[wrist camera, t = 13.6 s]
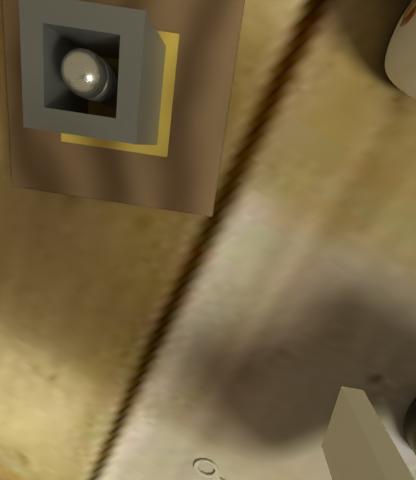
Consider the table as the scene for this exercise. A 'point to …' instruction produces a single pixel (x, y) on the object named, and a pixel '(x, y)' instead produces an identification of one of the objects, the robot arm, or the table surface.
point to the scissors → (207, 475)
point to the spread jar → (403, 52)
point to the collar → (103, 44)
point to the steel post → (90, 77)
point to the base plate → (170, 122)
